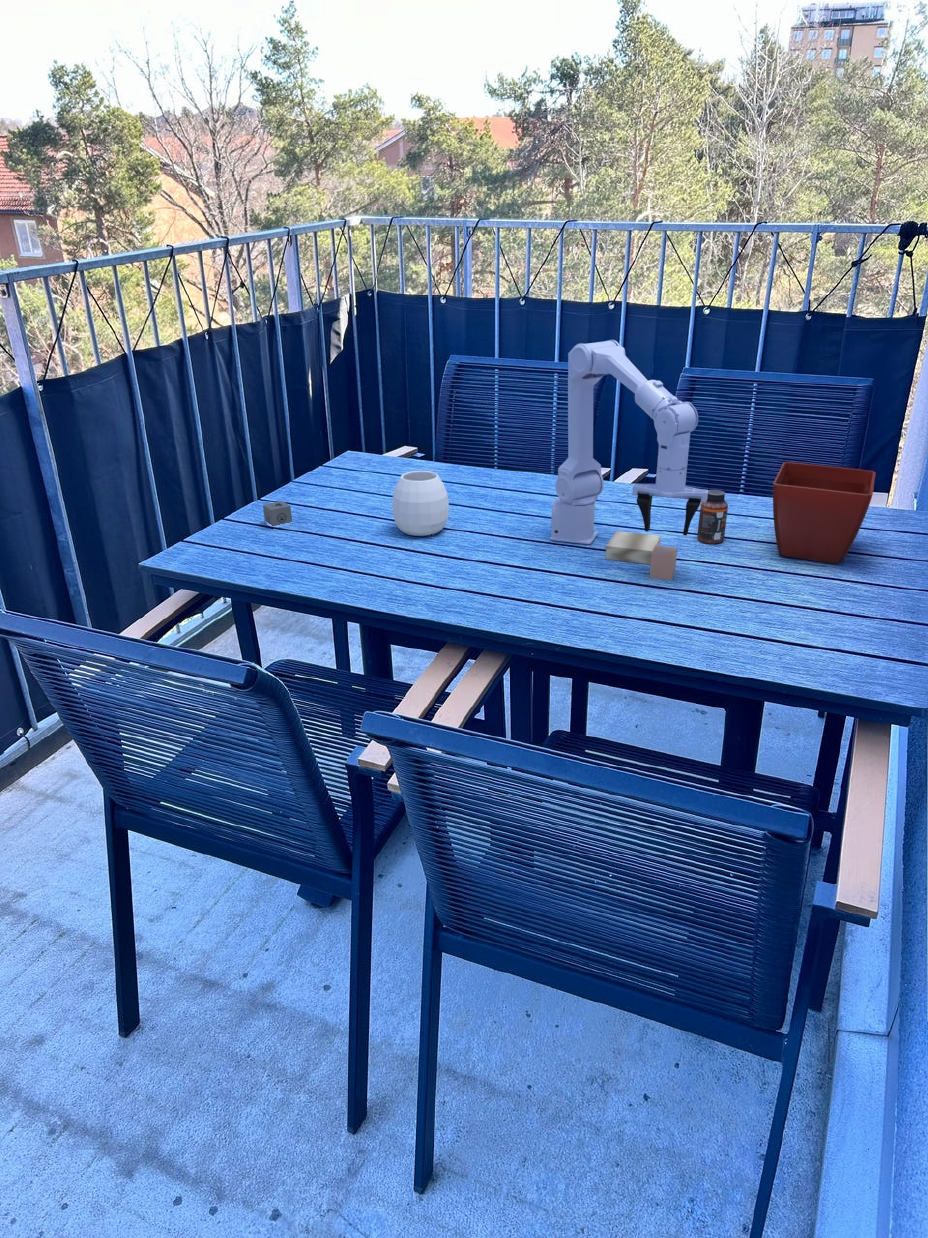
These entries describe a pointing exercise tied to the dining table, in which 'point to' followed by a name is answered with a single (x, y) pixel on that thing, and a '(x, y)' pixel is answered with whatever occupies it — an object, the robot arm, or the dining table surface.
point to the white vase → (420, 503)
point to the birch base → (632, 547)
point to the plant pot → (819, 510)
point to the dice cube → (277, 513)
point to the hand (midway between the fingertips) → (666, 531)
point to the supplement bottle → (713, 518)
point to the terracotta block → (663, 562)
